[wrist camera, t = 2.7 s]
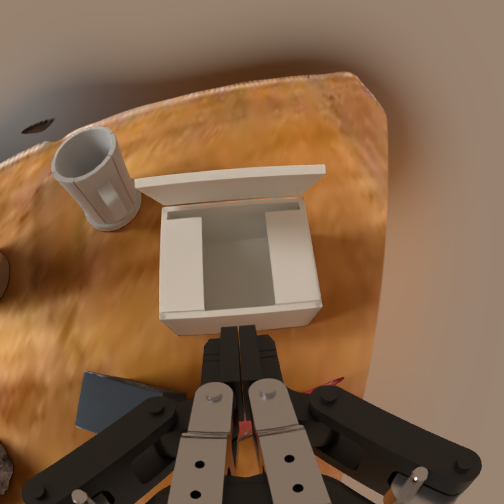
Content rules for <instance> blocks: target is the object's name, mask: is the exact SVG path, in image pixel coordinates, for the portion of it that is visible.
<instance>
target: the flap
mask: <svg viewBox="0 0 504 504" xmlns="http://www.w3.org/2000/svg"><path fill="white" fill-rule="evenodd" d="M325 174H326V170H325V165H294V166H272V167H254V168H239V169H225V170H213V171H202V172H191V173H181V174H172V175H163V176H155V177H146V178H139V179H135V189H137V190H139V191H140V192H142V193H144V194H145V195H147V196H149V197H150V198H152V199H154V200H155V201H157V202H159V203H161V204H162V205H164V206H166V205H177V204H187V203H198V202H210V201H222V200H235V199H249V198H264V197H280V196H298V195H302V194H303V193H304V192H305V191H306V190H307V189H309V188H310V187H311V186H312V185H313V184H314V183H316V182H317V181H318V180H319V179H320V178H322V177H323V176H324V175H325Z"/></svg>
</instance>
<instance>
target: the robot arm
mask: <svg viewBox="0 0 504 504" xmlns="http://www.w3.org/2000/svg"><path fill="white" fill-rule="evenodd" d="M8 280H9V264H8V261H7V259H6V257H5V256H4V255H3V254H2V253H0V298H1V297H2V295H3V294H4V292H5V290H6V287H7V284H8ZM239 339H240V349H239ZM203 355H204V356H203V365H202V377H201V387H200V388H198V390H197V391H196V393H195V396H194V397H192V398H191V399H189V400H186V401H183V402H179V403H175V404H174V403H173V402H172V401H171V400H170V399H168V398H166V397H162V396H155V397H151V398H148V399H146V400H145V401H143V402H142V403H140V404H139V405H138V406H136V407H135V408H133V409H132V410H131V411H129V412H128V413H127V414H125V415H124V416H122V417H121V418H120V419H118V420H117V421H115V422H114V423H113V424H111V425H110V426H108V427H107V428H106V429H104V430H103V431H101V432H100V433H98V434H97V435H96V436H94V437H93V438H91V439H90V440H88V441H87V442H85V443H84V444H83V445H81V446H80V447H78V448H77V449H75V450H74V451H72V452H71V453H69V454H68V455H66V456H65V457H63V458H62V459H60V460H59V461H57V462H56V463H54V464H53V465H51V466H50V467H48V468H47V469H45V470H43V471H42V472H40V473H39V474H37V475H36V476H34V477H33V478H31V479H29V480H28V481H27V482H26V483H25V485H24V486H23V489H22V498H23V501H24V502H25V504H134V503H135V502H137V501H138V500H139V499H140V498H142V497H143V496H144V495H145V494H146V493H148V492H149V491H150V490H151V489H152V488H154V487H155V486H156V485H157V484H158V483H159V482H161V481H162V480H163V479H164V478H165V477H166V476H168V475H169V474H170V473H171V472H172V471H173V470H174V473H173V478H172V483H171V485H169V486H167V487H166V488H164V489H162V490H161V491H159V492H158V493H157V494H155V495H154V496H153V497H152V498H151V499H150V500H149V501H148V502H147V503H145V504H375V503H373V502H372V501H370V500H368V499H367V498H365V497H364V496H362V495H360V494H359V493H357V492H356V491H354V490H353V489H351V488H349V487H348V486H346V485H345V484H343V483H342V482H340V481H339V480H336V479H334V478H332V477H329V476H327V475H323V474H321V473H320V470H319V467H318V464H317V461H316V458H315V456H314V455H316V456H318V457H319V458H321V459H322V460H324V461H325V462H327V463H328V464H330V465H332V466H333V467H335V468H336V469H338V470H340V471H341V472H343V473H345V474H346V475H348V476H350V477H352V478H353V479H355V480H357V481H358V482H360V483H362V484H363V485H365V486H367V487H369V488H370V489H373V490H374V491H376V492H378V493H379V494H381V495H383V496H384V499H383V502H384V504H454V503H455V501H456V500H457V498H458V497H459V496H460V495H461V494H462V493H463V492H464V491H465V490H466V489H467V488H468V487H469V485H470V484H471V483H472V482H473V481H474V480H475V478H476V477H477V476H478V475H479V473H480V471H481V467H482V464H481V460H480V457H479V456H478V455H477V454H476V453H475V452H474V451H472V450H470V449H468V448H465V447H463V446H460V445H458V444H456V443H453V442H451V441H448V440H447V439H444V438H442V437H440V436H437V435H435V434H433V433H431V432H429V431H426V430H424V429H422V428H420V427H418V426H415V425H413V424H411V423H409V422H407V421H405V420H403V419H401V418H399V417H397V416H395V415H393V414H390V413H388V412H386V411H384V410H382V409H380V408H378V407H376V406H374V405H372V404H370V403H368V402H366V401H364V400H363V399H361V398H359V397H357V396H355V395H353V394H351V393H349V392H347V391H345V390H343V389H341V388H339V387H337V386H333V385H324V386H320V387H317V388H315V389H314V390H313V391H312V392H311V393H310V394H308V393H300V392H295V391H293V390H291V389H289V388H288V387H287V386H286V385H285V384H284V382H283V380H282V375H281V370H280V365H279V361H278V357H277V351H276V346H275V342H274V340H273V339H272V338H271V337H270V336H269V335H258V336H257V334H256V327H255V325H242V326H239V338H238V328H237V326H228V327H221V337H220V338H217V339H209V340H208V342H207V343H206V345H205V346H204V354H203ZM240 356H241V360H240ZM241 372H242V375H241ZM242 385H243V391H242ZM243 395H244V405H245V414H246V421H251V426H252V436H253V442H254V447H255V452H256V457H257V462H258V467H259V472H260V474H258V475H255V476H251V477H246V478H245V477H237V470H238V449H239V431H240V428H239V422H243V421H244V406H243Z"/></svg>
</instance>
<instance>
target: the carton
mask: <svg viewBox="0 0 504 504" xmlns="http://www.w3.org/2000/svg"><path fill="white" fill-rule="evenodd" d="M322 307H323V306H322V299H321V293H320V287H319V281H318V275H317V269H316V263H315V257H314V252H313V246H312V240H311V235H310V230H309V224H308V219H307V214H306V209H305V204H304V199H303V197H289V198H272V199H256V200H242V201H229V202H216V203H204V204H193V205H182V206H172V207H162V217H161V238H160V270H159V320H160V321H161V322H163V323H164V324H165V325H166V326H167V327H168V328H170V329H171V330H172V331H173V332H174V333H176V334H177V335H178V336H183V335H202V334H219V333H221V327H228V326H237V328H238V332H239V326H242V325H255V327H256V331H258V330H269V329H280V328H290V327H299V326H307V325H308V324H309V323H310V322H311V320H312V319H313V318H314V317H315V316H316V314H317V313H318V312H319V311H320V310H321V308H322Z"/></svg>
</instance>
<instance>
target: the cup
mask: <svg viewBox="0 0 504 504" xmlns="http://www.w3.org/2000/svg"><path fill="white" fill-rule="evenodd" d="M51 169H52V174H53V176H54V177H55V178H56V180H57V181H58V182H59V183H60V184H61V185H62V186H63V187H64V188H65V189H66V190H67V191H68V193H69V194H70V195H71V196H72V197H73V198H74V199H75V200H76V201H77V203H78V204H79V205H80V206H81V207H82V209H83V210H84V213H85V216H86V219H87V220H88V221H89V222H90V224H91V225H92V226H93V227H94V228H96V229H98V230H100V231H113V230H117V229H120V228H121V227H123V226H125V225H127V224H128V223H129V222H130V221H131V220H132V219H133V218H134V217H135V216H136V214H137V212H138V211H139V209H140V205H141V202H142V198H141V192H140V191H139V190H137V189H135V181H134V180H132V179H131V178H130V176H129V173H128V171H127V168H126V166H125V163H124V160H123V157H122V154H121V151H120V148H119V145H118V142H117V139H116V136H115V134H114V132H113V131H111V130H110V129H109V128H106V127H102V126H95V127H89V128H86V129H82V130H80V131H78V132H77V133H75V134H73V136H70V137H69V138H68V139H67V140H65V141H64V142H63V143H62V145H61V146H60V147H59V148H58V150H57V151H56V153H55V155H54V157H53V160H52V165H51Z"/></svg>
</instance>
